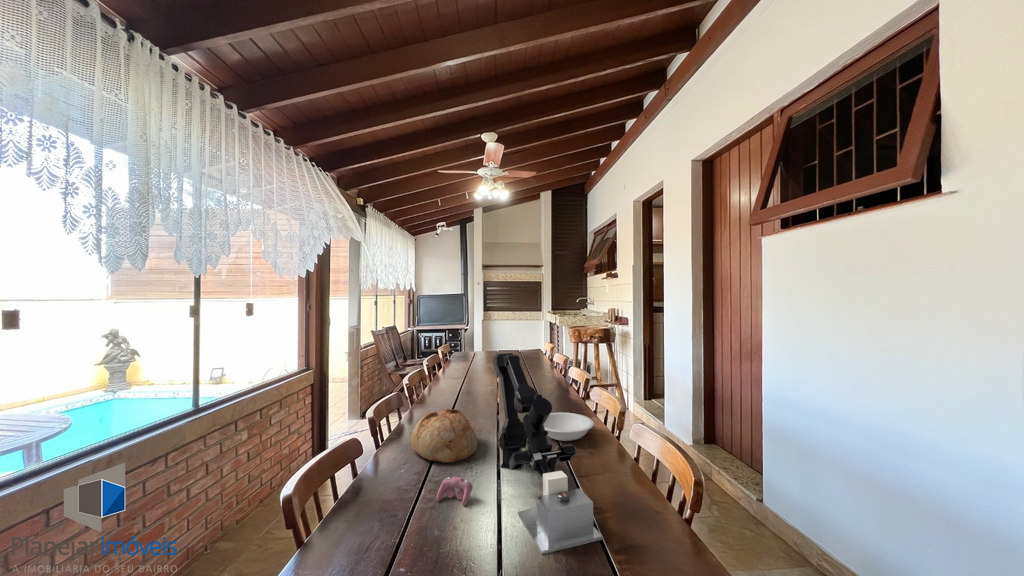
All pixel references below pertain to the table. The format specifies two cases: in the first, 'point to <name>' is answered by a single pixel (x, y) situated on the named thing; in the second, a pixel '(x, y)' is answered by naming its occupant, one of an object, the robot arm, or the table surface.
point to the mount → (561, 521)
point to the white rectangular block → (554, 482)
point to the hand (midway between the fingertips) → (552, 488)
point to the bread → (444, 437)
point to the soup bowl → (567, 426)
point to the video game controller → (449, 487)
